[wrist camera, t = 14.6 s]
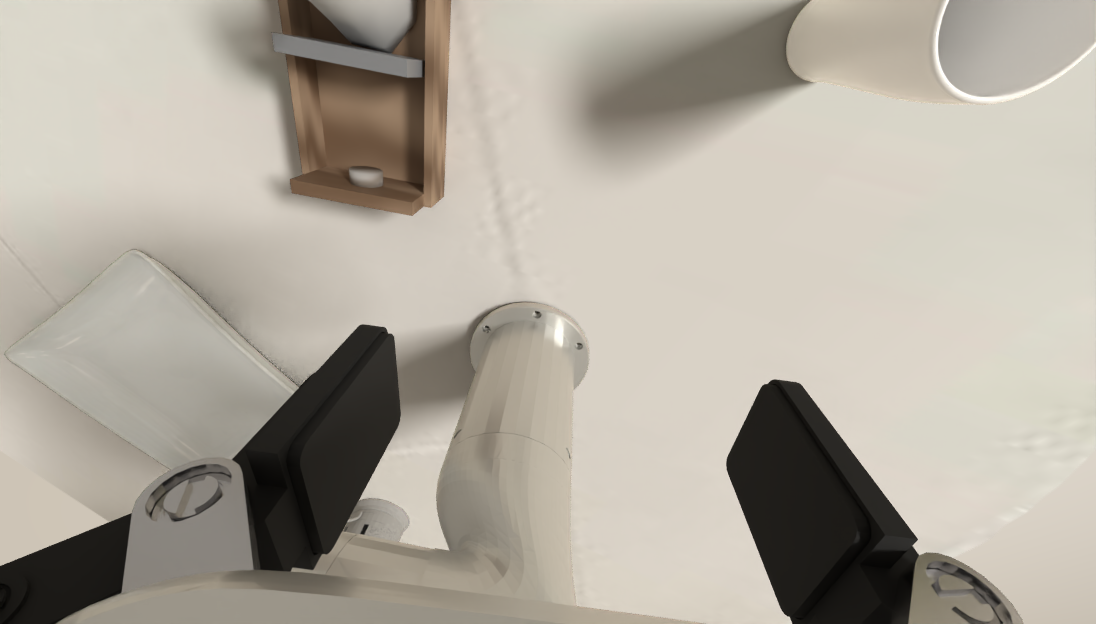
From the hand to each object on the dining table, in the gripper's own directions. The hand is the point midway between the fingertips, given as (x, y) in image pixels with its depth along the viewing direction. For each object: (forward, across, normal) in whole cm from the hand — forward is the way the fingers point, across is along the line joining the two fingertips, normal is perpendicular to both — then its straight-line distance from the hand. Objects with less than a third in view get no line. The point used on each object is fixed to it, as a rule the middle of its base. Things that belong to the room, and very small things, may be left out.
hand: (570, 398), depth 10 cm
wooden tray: (+27, +16, -7) cm, 32 cm away
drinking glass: (+27, -16, -12) cm, 33 cm away
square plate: (+28, +42, +29) cm, 58 cm away
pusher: (+26, +16, -7) cm, 31 cm away
